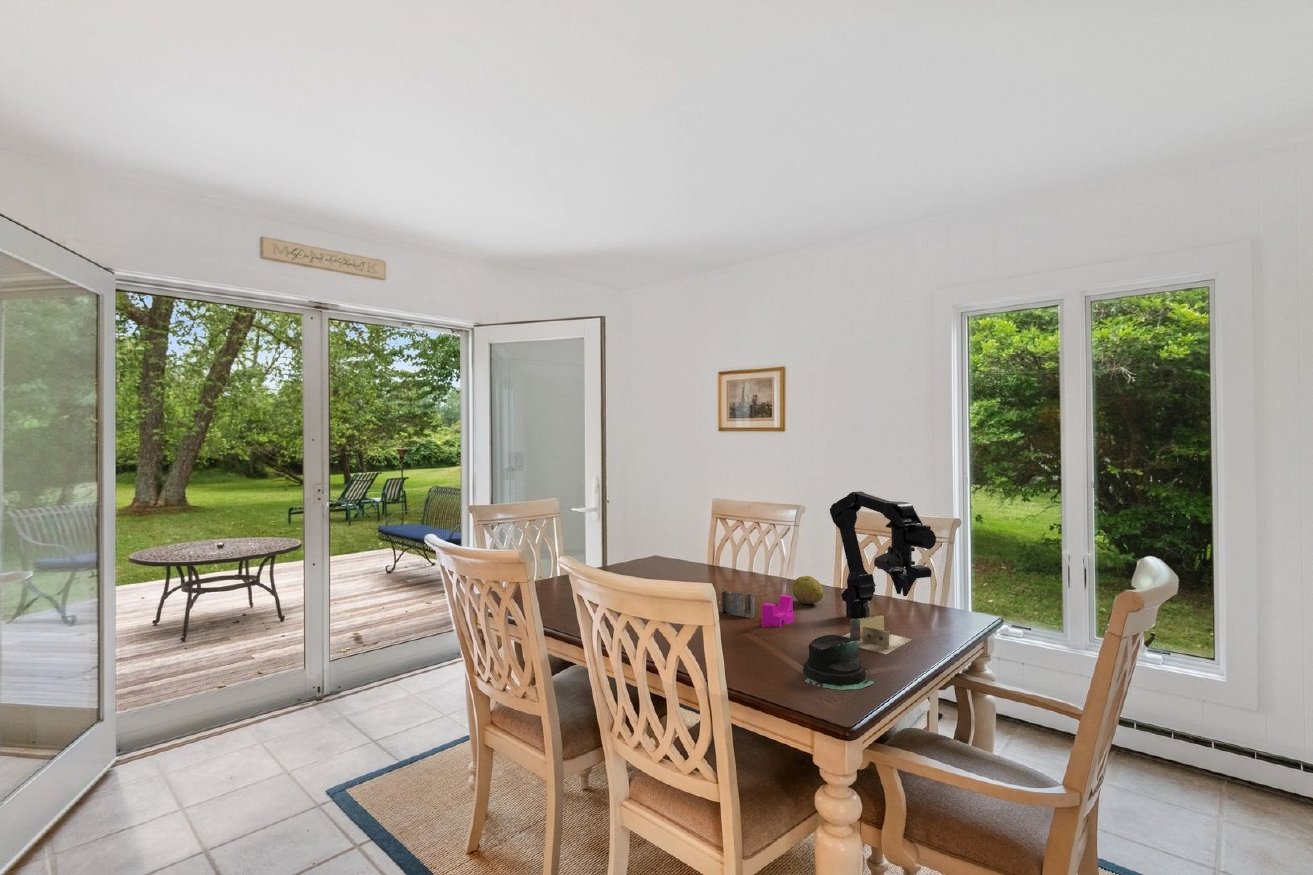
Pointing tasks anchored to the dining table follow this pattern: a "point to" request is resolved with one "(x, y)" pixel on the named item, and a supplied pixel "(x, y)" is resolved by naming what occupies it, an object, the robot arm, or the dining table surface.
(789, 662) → the dining table surface
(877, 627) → the brass leaf
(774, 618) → the toy block
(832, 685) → the dark green hat
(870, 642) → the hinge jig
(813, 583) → the fruit
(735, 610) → the ruin model on sheet
